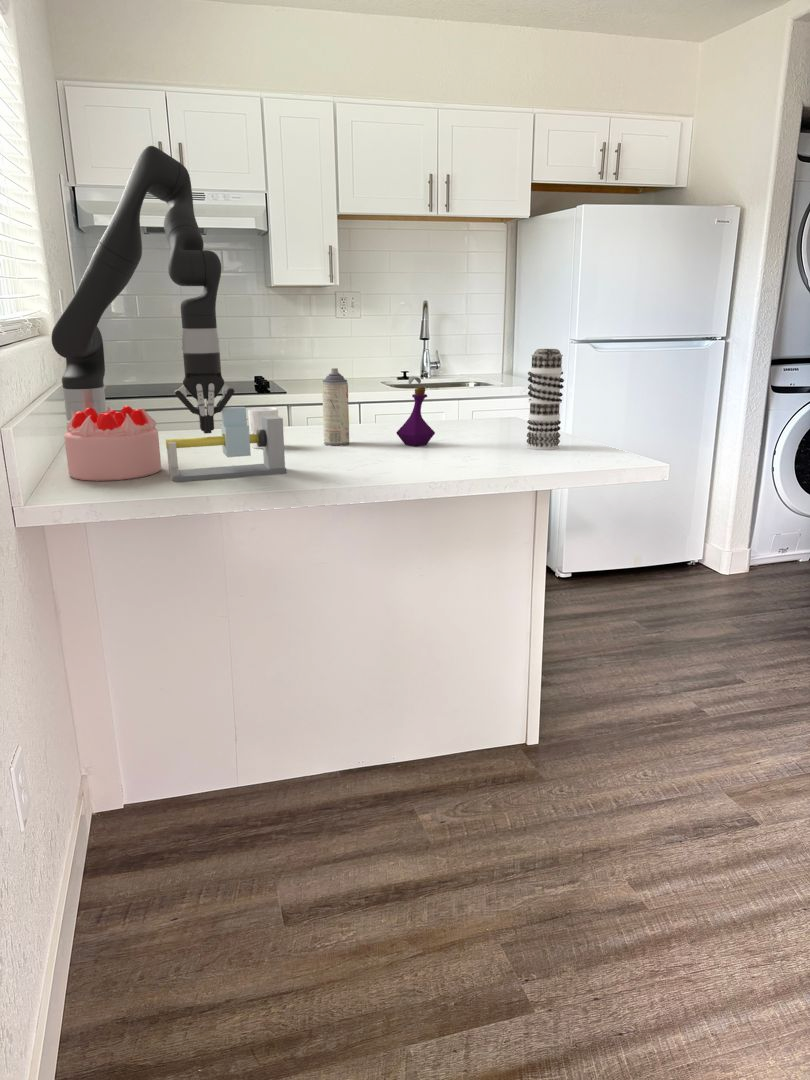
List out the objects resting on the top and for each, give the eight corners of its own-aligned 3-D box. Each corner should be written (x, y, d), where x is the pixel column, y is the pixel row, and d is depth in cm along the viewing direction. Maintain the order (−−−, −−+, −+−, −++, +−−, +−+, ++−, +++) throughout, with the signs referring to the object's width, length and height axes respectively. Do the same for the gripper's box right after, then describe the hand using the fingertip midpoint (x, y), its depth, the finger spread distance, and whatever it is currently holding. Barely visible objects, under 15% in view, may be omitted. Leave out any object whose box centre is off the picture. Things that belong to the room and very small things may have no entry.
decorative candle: (523, 444, 211) (526, 348, 204) (558, 444, 211) (562, 348, 204) (526, 450, 203) (530, 350, 196) (563, 450, 202) (568, 349, 195)
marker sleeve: (227, 457, 171) (224, 409, 168) (222, 452, 177) (219, 406, 174) (250, 455, 173) (247, 408, 170) (245, 451, 179) (242, 405, 176)
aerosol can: (353, 444, 213) (351, 368, 207) (329, 446, 210) (327, 369, 204) (343, 441, 218) (341, 367, 213) (320, 443, 215) (317, 368, 210)
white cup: (244, 448, 208) (242, 410, 205) (258, 444, 215) (256, 406, 212) (271, 450, 205) (269, 411, 203) (284, 445, 213) (283, 407, 210)
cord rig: (171, 482, 167) (166, 425, 164) (167, 475, 174) (162, 420, 171) (286, 473, 176) (283, 418, 173) (278, 466, 183) (275, 414, 180)
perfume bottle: (416, 441, 217) (416, 374, 212) (435, 444, 212) (435, 376, 207) (395, 444, 212) (395, 376, 207) (415, 448, 207) (414, 378, 202)
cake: (59, 471, 180) (51, 408, 176) (146, 461, 191) (141, 402, 187) (82, 485, 165) (74, 417, 161) (175, 474, 176) (170, 410, 172)
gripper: (170, 352, 161) (178, 437, 166) (236, 350, 165) (241, 433, 170) (167, 350, 167) (174, 432, 172) (230, 349, 172) (235, 428, 177)
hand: (207, 432), depth 171 cm, fingers closed
